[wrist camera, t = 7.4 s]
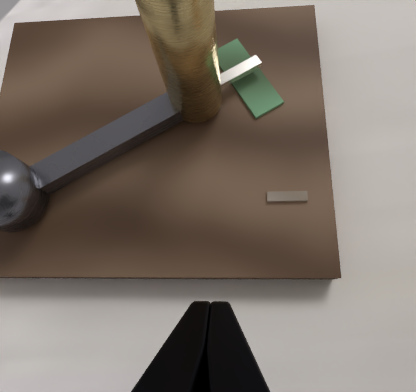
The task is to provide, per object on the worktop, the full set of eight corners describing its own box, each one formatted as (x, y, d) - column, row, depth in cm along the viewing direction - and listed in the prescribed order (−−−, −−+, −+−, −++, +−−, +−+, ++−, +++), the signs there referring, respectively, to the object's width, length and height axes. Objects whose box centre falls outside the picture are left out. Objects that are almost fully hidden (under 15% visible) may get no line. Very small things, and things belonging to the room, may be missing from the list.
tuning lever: (275, 90, 19) (320, -149, 9) (-3, 245, 18) (-326, 177, 7) (241, 44, 20) (245, -217, 10) (-25, 187, 19) (-333, 60, 9)
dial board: (332, 279, 18) (342, 277, 16) (-17, 277, 19) (-41, 276, 17) (309, 23, 22) (315, 2, 20) (28, 39, 24) (12, 20, 22)
